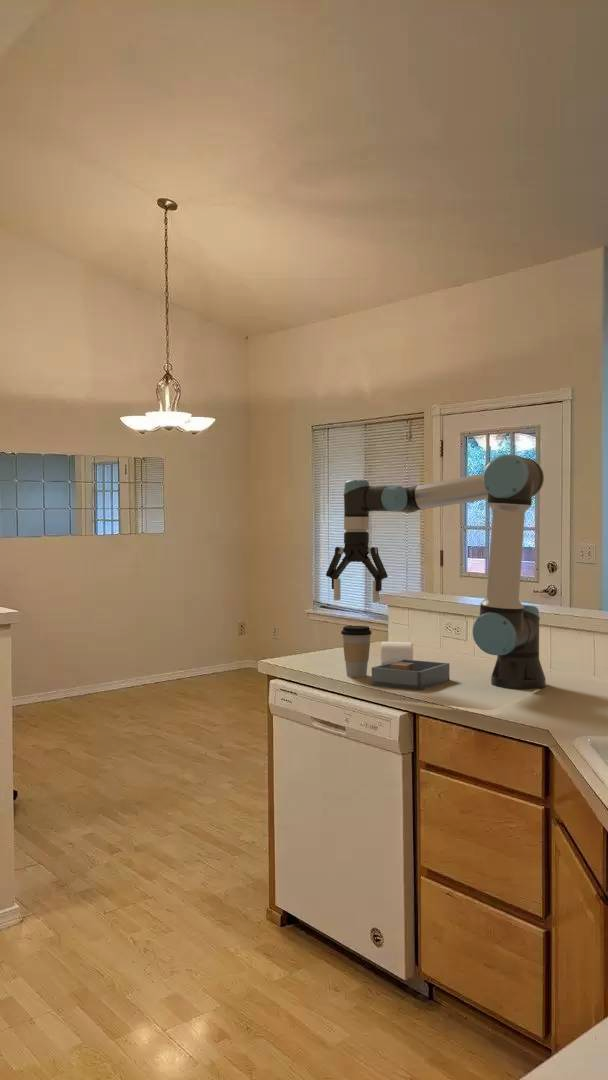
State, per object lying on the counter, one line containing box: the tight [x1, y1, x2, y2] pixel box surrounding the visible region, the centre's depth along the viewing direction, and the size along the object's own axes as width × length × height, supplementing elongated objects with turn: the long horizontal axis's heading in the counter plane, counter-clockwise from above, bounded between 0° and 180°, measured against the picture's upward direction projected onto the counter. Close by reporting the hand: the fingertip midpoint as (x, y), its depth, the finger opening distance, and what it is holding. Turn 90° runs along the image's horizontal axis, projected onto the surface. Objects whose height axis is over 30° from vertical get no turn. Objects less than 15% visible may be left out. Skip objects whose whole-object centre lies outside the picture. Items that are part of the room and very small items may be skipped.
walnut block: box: [391, 662, 414, 671], centre depth 243 cm, size 5×5×5 cm
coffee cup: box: [340, 625, 372, 678], centre depth 259 cm, size 9×9×15 cm
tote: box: [371, 659, 450, 691], centre depth 248 cm, size 15×20×5 cm
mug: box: [380, 641, 414, 665], centre depth 281 cm, size 12×10×8 cm
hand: (356, 601), depth 259 cm, fingers open, 13 cm apart
